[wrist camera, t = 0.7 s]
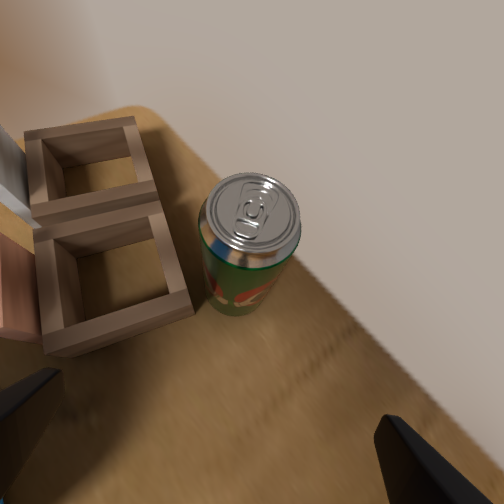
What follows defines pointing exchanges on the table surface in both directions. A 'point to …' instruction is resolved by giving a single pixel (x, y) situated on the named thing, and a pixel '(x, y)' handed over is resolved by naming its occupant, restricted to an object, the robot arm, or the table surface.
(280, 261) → the soda can
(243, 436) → the table surface
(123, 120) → the socket block
